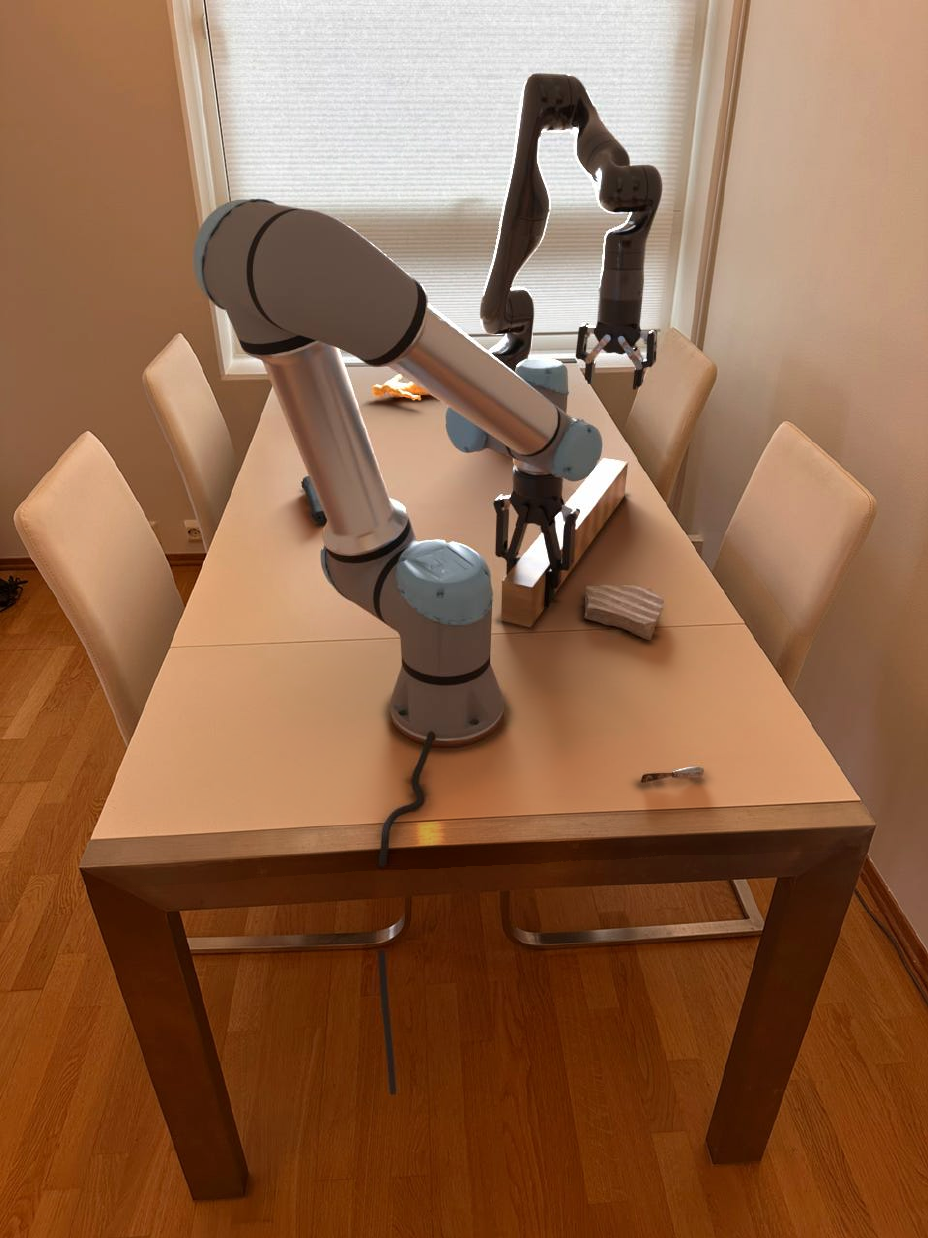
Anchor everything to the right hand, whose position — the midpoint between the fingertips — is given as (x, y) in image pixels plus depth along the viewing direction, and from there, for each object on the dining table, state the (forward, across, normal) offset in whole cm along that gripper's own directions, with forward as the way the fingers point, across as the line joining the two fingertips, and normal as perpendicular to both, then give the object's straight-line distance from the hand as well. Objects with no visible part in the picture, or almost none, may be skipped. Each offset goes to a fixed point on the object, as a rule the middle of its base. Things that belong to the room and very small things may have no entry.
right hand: (613, 385), depth 163 cm
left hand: (+24, 0, +40) cm, 46 cm away
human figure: (+24, +65, -49) cm, 85 cm away
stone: (+24, -15, +39) cm, 48 cm away
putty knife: (+24, -30, +73) cm, 83 cm away
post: (+24, 0, +20) cm, 31 cm away
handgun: (+24, +49, +20) cm, 59 cm away
